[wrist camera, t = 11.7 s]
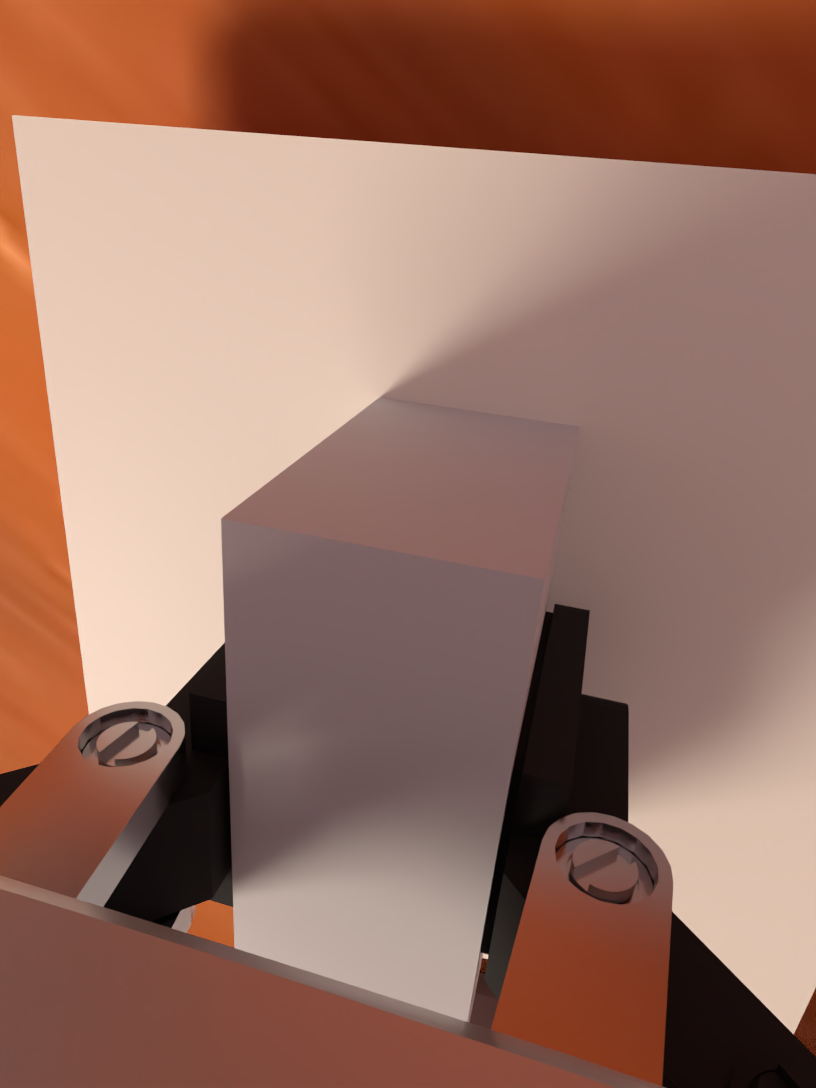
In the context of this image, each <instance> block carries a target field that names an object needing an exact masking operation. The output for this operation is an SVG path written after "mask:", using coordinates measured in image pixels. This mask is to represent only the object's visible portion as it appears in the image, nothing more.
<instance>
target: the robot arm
mask: <svg viewBox="0 0 816 1088" xmlns="http://www.w3.org/2000/svg"><path fill="white" fill-rule="evenodd" d="M589 614H590V610H585V609H580V608H575V607H570V606H564V605H559V604H555V605H554V610H553V612H547V611H546V613H545V617H544V622H543V627H542V632H541V636H540V641H539V646H538V651H537V656H536V660H535V665H534V670H533V675H532V679H531V684H530V689H529V694H528V699H527V703H526V708H525V713H524V718H523V722H522V727H521V732H520V737H519V742H518V746H517V751H516V756H515V761H514V766H513V771H512V776H511V782H510V787H509V793H508V798H507V804H506V810H505V815H504V821H503V827H502V832H501V838H500V844H499V849H498V855H497V861H496V866H495V872H494V878H493V883H492V889H491V895H490V900H489V906H488V912H487V917H486V923H485V929H484V935H483V940H482V946H481V953H484V954H488V961H487V966H486V971H485V977H484V983H486V984H487V985H488V986H489V988H490V989H491V991H492V992H493V994H494V995H495V997H496V998H497V1000H498V1001H499V1002H498V1005H497V1009H496V1013H495V1016H494V1020H493V1024H492V1027H491V1029H487V1028H484V1027H481V1026H478V1025H475V1024H472V1023H469V1022H466V1021H462V1020H459V1019H456V1018H453V1017H450V1016H447V1015H444V1014H441V1013H437V1012H434V1011H431V1010H428V1009H425V1008H422V1007H419V1006H416V1005H412V1004H409V1003H406V1002H403V1001H400V1000H397V999H394V998H391V997H387V996H384V995H381V994H378V993H375V992H372V991H369V990H366V989H363V988H359V987H356V986H353V985H350V984H347V983H344V982H341V981H337V980H334V979H331V978H328V977H325V976H322V975H318V974H315V973H312V972H309V971H306V970H302V969H299V968H296V967H293V966H290V965H287V964H283V963H280V962H277V961H274V960H271V959H268V958H264V957H261V956H258V955H255V954H252V953H248V952H245V951H242V950H239V949H236V948H233V947H229V946H226V945H223V944H220V943H217V942H213V941H210V940H207V939H204V938H201V937H197V936H194V935H191V934H188V933H187V931H188V929H189V927H190V925H191V923H192V919H193V916H194V913H195V905H196V904H199V903H201V902H204V901H207V900H212V901H215V902H218V903H222V904H225V905H228V906H232V907H233V882H232V851H231V819H230V788H229V756H228V725H227V693H226V662H225V643H224V644H223V645H222V646H221V647H220V648H219V649H218V650H217V651H216V652H215V653H214V654H213V655H212V657H211V658H210V659H209V660H208V661H207V662H206V663H205V664H204V665H203V666H202V667H201V668H200V669H199V670H198V672H197V673H196V674H195V675H194V676H193V677H192V678H191V679H190V680H189V681H188V682H187V683H186V684H185V686H184V687H183V688H182V689H181V690H180V691H179V692H178V693H177V694H176V695H175V696H174V697H173V698H172V699H171V701H170V702H169V703H168V704H167V705H166V706H164V705H160V704H157V703H154V702H142V701H133V702H124V703H118V704H114V705H111V706H107V707H104V708H101V709H99V710H97V711H95V712H93V713H91V714H89V715H87V716H86V717H84V718H83V719H82V720H81V721H80V722H78V723H77V724H76V725H75V726H74V727H73V728H72V729H71V730H70V731H69V732H68V733H67V734H66V735H65V736H64V738H63V739H62V740H61V741H60V742H59V743H58V744H57V745H56V746H55V747H54V749H53V750H52V751H51V752H50V753H49V754H48V755H47V756H46V757H45V758H44V760H43V761H42V762H41V763H40V764H37V765H33V766H30V767H26V768H22V769H18V770H15V771H11V772H7V773H3V774H0V1088H816V1057H815V1056H814V1055H813V1054H812V1053H811V1052H810V1051H809V1050H808V1049H807V1048H806V1047H805V1046H804V1045H803V1044H802V1043H801V1042H800V1041H799V1040H798V1039H797V1038H796V1037H795V1036H794V1034H793V1033H792V1032H791V1031H790V1030H789V1029H788V1028H787V1027H786V1026H785V1025H784V1024H783V1023H782V1022H781V1021H780V1020H779V1019H778V1018H777V1017H776V1016H775V1015H774V1014H773V1013H772V1012H771V1011H770V1010H769V1009H768V1008H767V1007H766V1006H765V1005H764V1004H763V1003H762V1002H761V1001H760V1000H759V999H758V998H757V997H756V996H755V995H754V994H753V993H752V992H751V991H750V990H749V989H748V988H747V987H746V986H745V985H744V984H743V983H742V982H741V981H740V980H739V979H738V978H737V977H736V976H735V975H734V974H733V973H732V972H731V970H730V969H729V968H728V967H727V966H726V965H725V964H724V963H723V962H722V961H721V960H720V959H719V958H718V957H717V956H716V955H715V954H714V953H713V952H712V951H711V950H710V949H709V948H708V947H707V946H706V945H705V944H704V943H703V942H702V941H701V940H700V939H699V938H698V937H697V936H696V935H695V934H694V933H693V932H692V931H691V930H690V929H689V928H688V927H687V926H686V925H685V924H684V923H683V922H682V921H681V920H680V919H679V918H678V917H677V916H676V915H675V914H674V913H673V912H672V900H673V876H672V870H671V865H670V864H669V862H668V860H667V858H666V856H665V854H664V852H663V850H662V849H661V848H660V847H659V846H658V845H657V844H656V843H655V842H654V841H653V839H652V838H651V837H650V836H649V835H647V834H646V833H644V832H643V831H641V830H640V829H639V828H637V827H636V826H634V825H633V824H631V823H628V776H629V709H628V704H626V703H621V702H617V701H612V700H608V699H603V698H598V697H594V696H589V695H585V694H582V684H583V674H584V664H585V654H586V644H587V634H588V624H589Z"/></svg>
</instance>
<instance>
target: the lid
mask: <svg viewBox="0 0 816 1088" xmlns="http://www.w3.org/2000/svg"><path fill="white" fill-rule="evenodd" d="M12 120H13V128H14V136H15V144H16V151H17V159H18V167H19V175H20V182H21V190H22V198H23V206H24V213H25V221H26V229H27V237H28V244H29V252H30V260H31V268H32V275H33V283H34V291H35V299H36V307H37V314H38V322H39V330H40V338H41V345H42V353H43V361H44V369H45V376H46V384H47V392H48V400H49V407H50V415H51V423H52V431H53V438H54V446H55V454H56V462H57V469H58V477H59V485H60V493H61V500H62V508H63V516H64V524H65V531H66V539H67V547H68V555H69V563H70V570H71V578H72V586H73V594H74V601H75V609H76V617H77V625H78V632H79V640H80V648H81V656H82V663H83V671H84V679H85V687H86V694H87V702H88V710H89V714H91V713H93V712H95V711H97V710H99V709H101V708H104V707H107V706H111V705H114V704H118V703H124V702H133V701H142V702H154V703H157V704H160V705H164V706H166V705H167V704H168V703H169V702H170V701H171V699H172V698H173V697H174V696H175V695H176V694H177V693H178V692H179V691H180V690H181V689H182V688H183V687H184V686H185V684H186V683H187V682H188V681H189V680H190V679H191V678H192V677H193V676H194V675H195V674H196V673H197V672H198V670H199V669H200V668H201V667H202V666H203V665H204V664H205V663H206V662H207V661H208V660H209V659H210V658H211V657H212V655H213V654H214V653H215V652H216V651H217V650H218V649H219V648H220V647H221V646H222V645H223V644H224V643H225V662H226V693H227V725H228V756H229V788H230V819H231V851H232V882H233V914H234V946H235V948H236V949H239V950H242V951H245V952H248V953H252V954H255V955H258V956H261V957H264V958H268V959H271V960H274V961H277V962H280V963H283V964H287V965H290V966H293V967H296V968H299V969H302V970H306V971H309V972H312V973H315V974H318V975H322V976H325V977H328V978H331V979H334V980H337V981H341V982H344V983H347V984H350V985H353V986H356V987H359V988H363V989H366V990H369V991H372V992H375V993H378V994H381V995H384V996H387V997H391V998H394V999H397V1000H400V1001H403V1002H406V1003H409V1004H412V1005H416V1006H419V1007H422V1008H425V1009H428V1010H431V1011H434V1012H437V1013H441V1014H444V1015H447V1016H450V1017H453V1018H456V1019H459V1020H462V1021H466V1022H469V1023H470V1017H471V1012H472V1007H473V1002H474V997H475V992H476V987H477V982H478V977H479V972H480V967H481V962H482V958H485V959H488V954H484V953H481V946H482V940H483V935H484V929H485V923H486V917H487V912H488V906H489V900H490V895H491V889H492V883H493V878H494V872H495V866H496V861H497V855H498V849H499V844H500V838H501V832H502V827H503V821H504V815H505V810H506V804H507V798H508V793H509V787H510V782H511V776H512V771H513V766H514V761H515V756H516V751H517V746H518V742H519V737H520V732H521V727H522V722H523V718H524V713H525V708H526V703H527V699H528V694H529V689H530V684H531V679H532V675H533V670H534V665H535V660H536V656H537V651H538V646H539V641H540V636H541V632H542V627H543V622H544V617H545V613H546V611H547V612H553V610H554V605H555V604H559V605H564V606H570V607H575V608H580V609H585V610H590V614H589V624H588V634H587V644H586V654H585V664H584V674H583V684H582V694H585V695H589V696H594V697H598V698H603V699H608V700H612V701H617V702H621V703H626V704H628V709H629V776H628V823H631V824H633V825H634V826H636V827H637V828H639V829H640V830H641V831H643V832H644V833H646V834H647V835H649V836H650V837H651V838H652V839H653V841H654V842H655V843H656V844H657V845H658V846H659V847H660V848H661V849H662V850H663V852H664V854H665V856H666V858H667V860H668V862H669V864H670V865H671V870H672V876H673V900H672V912H673V913H674V914H675V915H676V916H677V917H678V918H679V919H680V920H681V921H682V922H683V923H684V924H685V925H686V926H687V927H688V928H689V929H690V930H691V931H692V932H693V933H694V934H695V935H696V936H697V937H698V938H699V939H700V940H701V941H702V942H703V943H704V944H705V945H706V946H707V947H708V948H709V949H710V950H711V951H712V952H713V953H714V954H715V955H716V956H717V957H718V958H719V959H720V960H721V961H722V962H723V963H724V964H725V965H726V966H727V967H728V968H729V969H730V970H731V972H732V973H733V974H734V975H735V976H736V977H737V978H738V979H739V980H740V981H741V982H742V983H743V984H744V985H745V986H746V987H747V988H748V989H749V990H750V991H751V992H752V993H753V994H754V995H755V996H756V997H757V998H758V999H759V1000H760V1001H761V1002H762V1003H763V1004H764V1005H765V1006H766V1007H767V1008H768V1009H769V1010H770V1011H771V1012H772V1013H773V1014H774V1015H775V1016H776V1017H777V1018H778V1019H779V1020H780V1021H781V1022H782V1023H783V1024H784V1025H785V1026H786V1027H787V1028H788V1029H789V1030H790V1031H791V1032H792V1033H793V1034H794V1033H795V1031H796V1028H797V1026H798V1024H799V1022H800V1020H801V1018H802V1016H803V1014H804V1012H805V1009H806V1007H807V1005H808V1003H809V1001H810V999H811V997H812V995H813V993H814V990H815V988H816V174H806V173H792V172H779V171H765V170H752V169H738V168H724V167H711V166H697V165H684V164H670V163H656V162H643V161H629V160H616V159H602V158H588V157H575V156H561V155H547V154H534V153H520V152H507V151H493V150H479V149H466V148H452V147H439V146H425V145H411V144H398V143H384V142H371V141H357V140H343V139H330V138H316V137H303V136H289V135H275V134H262V133H248V132H235V131H221V130H207V129H194V128H180V127H167V126H153V125H139V124H126V123H112V122H98V121H85V120H71V119H58V118H44V117H30V116H17V115H12Z"/></svg>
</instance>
